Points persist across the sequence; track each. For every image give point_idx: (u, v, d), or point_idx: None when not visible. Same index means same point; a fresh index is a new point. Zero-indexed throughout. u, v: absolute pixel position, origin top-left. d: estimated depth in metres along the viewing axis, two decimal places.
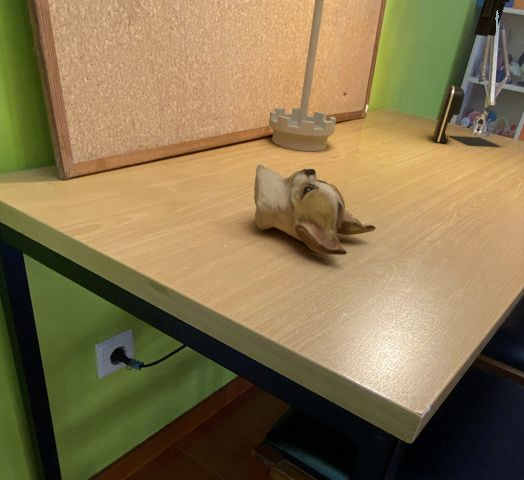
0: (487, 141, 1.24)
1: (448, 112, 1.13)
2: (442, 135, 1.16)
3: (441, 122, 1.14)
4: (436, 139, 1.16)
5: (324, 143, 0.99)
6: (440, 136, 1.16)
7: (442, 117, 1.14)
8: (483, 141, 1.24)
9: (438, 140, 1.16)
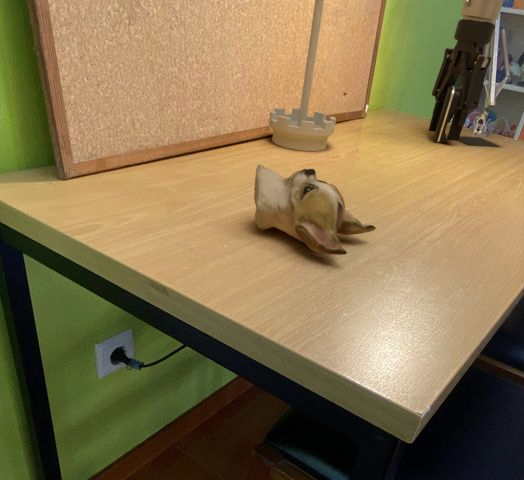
0: (487, 141, 1.24)
1: (448, 112, 1.13)
2: (442, 135, 1.16)
3: (441, 122, 1.14)
4: (436, 139, 1.16)
5: (324, 143, 0.99)
6: (440, 136, 1.16)
7: (442, 117, 1.14)
8: (483, 141, 1.24)
9: (438, 140, 1.16)
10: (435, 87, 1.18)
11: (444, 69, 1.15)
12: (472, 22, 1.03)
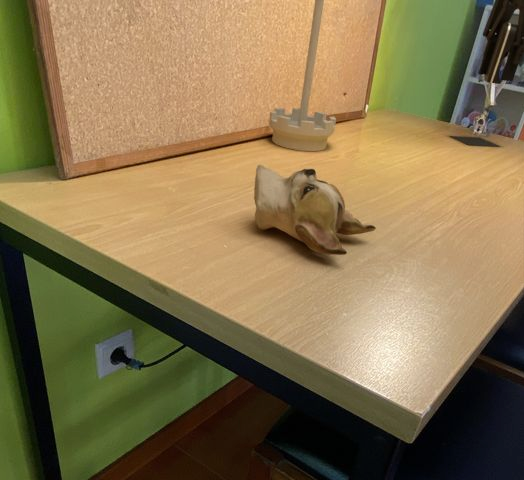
0: (487, 141, 1.24)
1: (503, 50, 1.08)
2: (496, 75, 1.11)
3: (495, 61, 1.09)
4: (489, 80, 1.11)
5: (324, 143, 0.99)
6: (493, 77, 1.11)
7: (496, 55, 1.09)
8: (483, 141, 1.24)
9: (491, 81, 1.11)
10: (486, 27, 1.13)
11: (497, 6, 1.10)
12: None
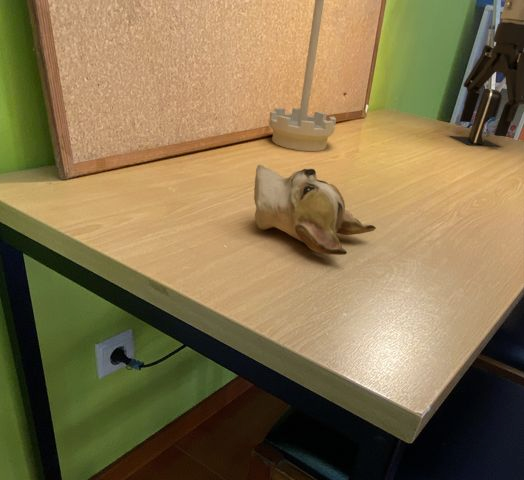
0: (487, 141, 1.24)
1: (485, 114, 1.15)
2: (479, 137, 1.18)
3: (478, 124, 1.17)
4: (472, 140, 1.19)
5: (324, 143, 0.99)
6: (476, 138, 1.19)
7: (479, 119, 1.16)
8: None
9: (474, 141, 1.19)
10: (467, 79, 1.22)
11: (480, 65, 1.18)
12: (513, 25, 1.06)
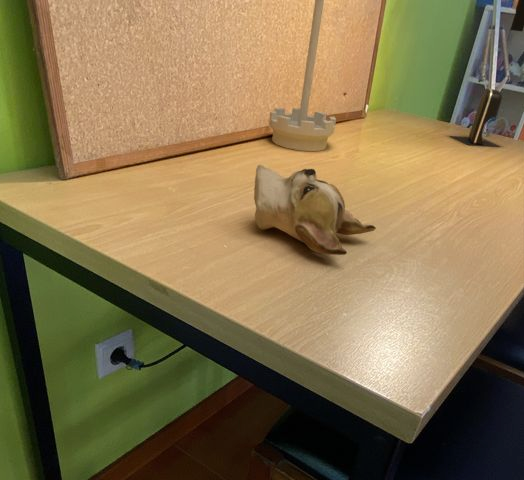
0: (487, 141, 1.24)
1: (485, 114, 1.15)
2: (479, 137, 1.18)
3: (478, 124, 1.17)
4: (472, 140, 1.19)
5: (324, 143, 0.99)
6: (476, 138, 1.19)
7: (479, 119, 1.16)
8: None
9: (474, 141, 1.19)
10: None
11: None
12: None
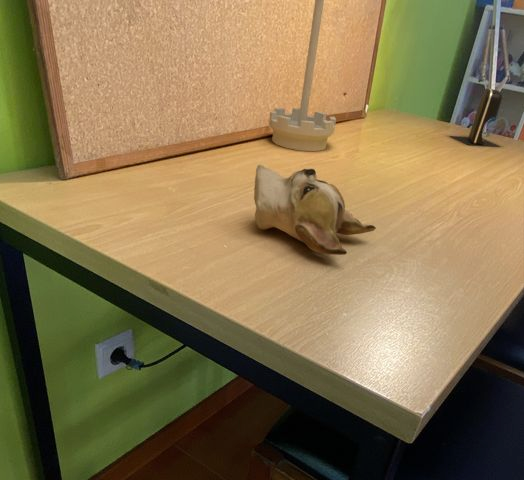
0: (487, 141, 1.24)
1: (485, 114, 1.15)
2: (479, 137, 1.18)
3: (478, 124, 1.17)
4: (472, 140, 1.19)
5: (324, 143, 0.99)
6: (476, 138, 1.19)
7: (479, 119, 1.16)
8: None
9: (474, 141, 1.19)
10: None
11: None
12: None
